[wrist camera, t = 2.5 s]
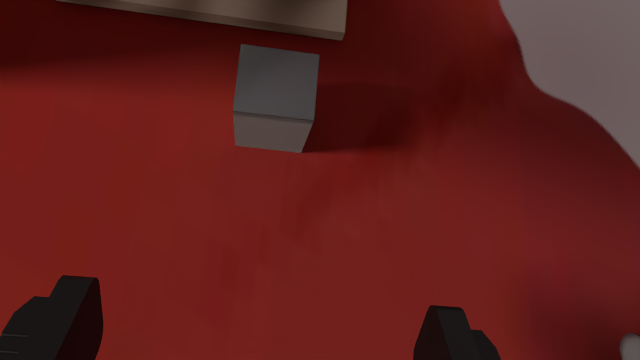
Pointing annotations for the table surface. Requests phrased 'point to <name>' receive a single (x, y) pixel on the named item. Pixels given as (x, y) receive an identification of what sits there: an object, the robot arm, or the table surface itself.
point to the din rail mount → (247, 13)
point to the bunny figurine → (630, 347)
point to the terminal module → (274, 98)
